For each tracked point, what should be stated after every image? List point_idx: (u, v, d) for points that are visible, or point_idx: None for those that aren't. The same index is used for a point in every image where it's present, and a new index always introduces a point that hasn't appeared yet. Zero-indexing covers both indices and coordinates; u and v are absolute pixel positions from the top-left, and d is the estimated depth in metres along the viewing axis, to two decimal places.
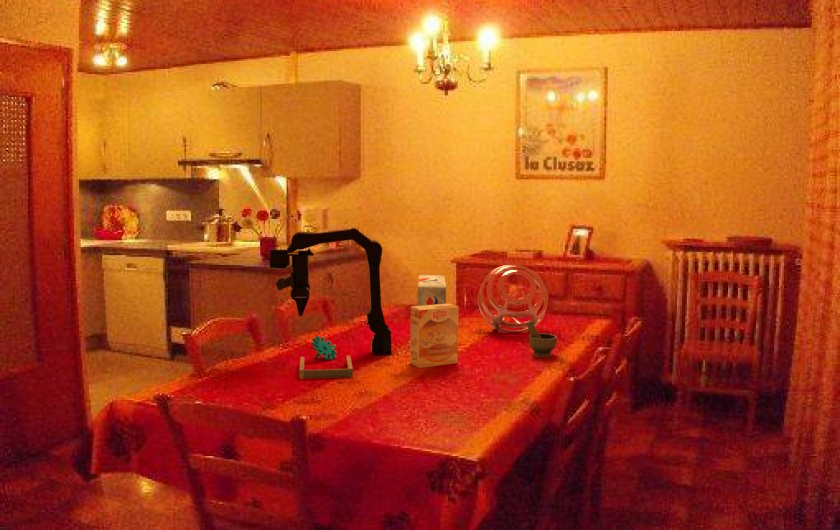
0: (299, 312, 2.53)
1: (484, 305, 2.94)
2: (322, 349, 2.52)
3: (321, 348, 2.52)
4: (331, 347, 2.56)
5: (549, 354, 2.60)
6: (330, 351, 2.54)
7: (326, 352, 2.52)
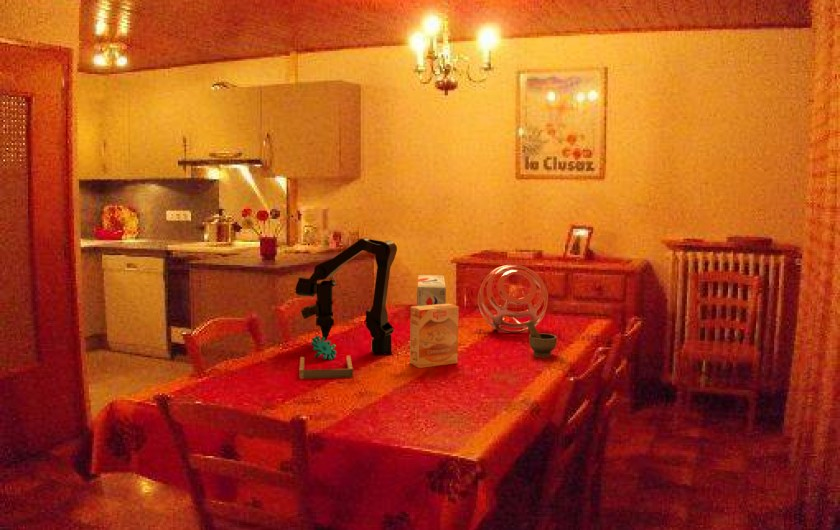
0: None
1: (484, 305, 2.94)
2: (321, 349, 2.52)
3: (320, 348, 2.52)
4: (331, 347, 2.56)
5: (549, 354, 2.60)
6: (330, 351, 2.54)
7: (325, 352, 2.53)
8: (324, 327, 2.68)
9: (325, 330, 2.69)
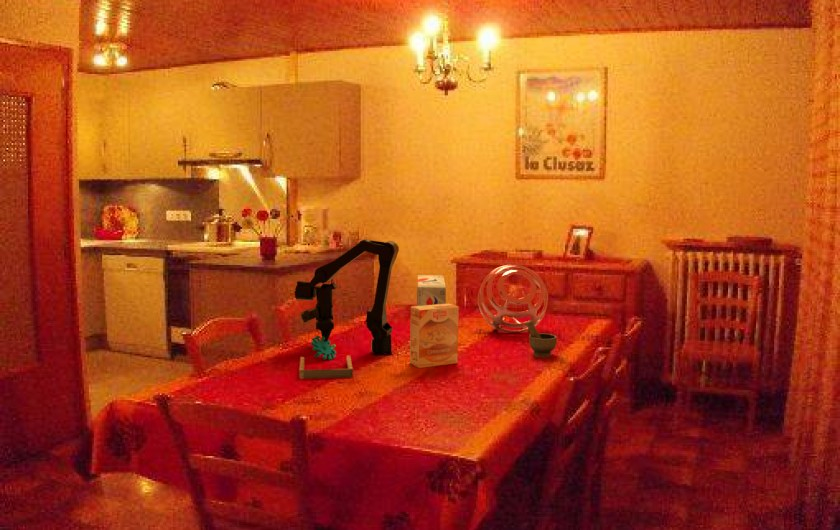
0: None
1: (484, 305, 2.94)
2: (321, 349, 2.52)
3: (320, 348, 2.52)
4: (331, 347, 2.57)
5: (549, 354, 2.60)
6: (329, 351, 2.55)
7: (325, 352, 2.53)
8: (324, 331, 2.66)
9: (325, 334, 2.66)
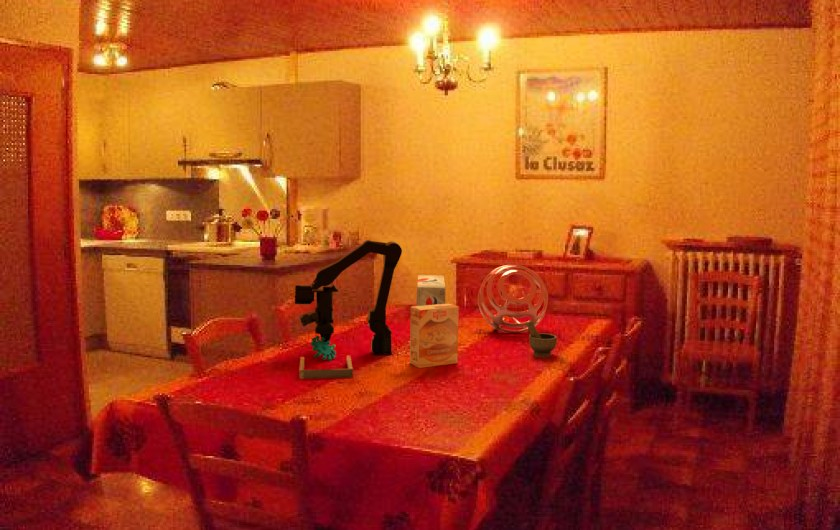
0: None
1: (484, 305, 2.94)
2: (321, 349, 2.52)
3: (320, 348, 2.52)
4: (330, 347, 2.56)
5: (549, 354, 2.60)
6: (329, 351, 2.54)
7: (325, 352, 2.52)
8: (324, 335, 2.59)
9: (325, 338, 2.59)
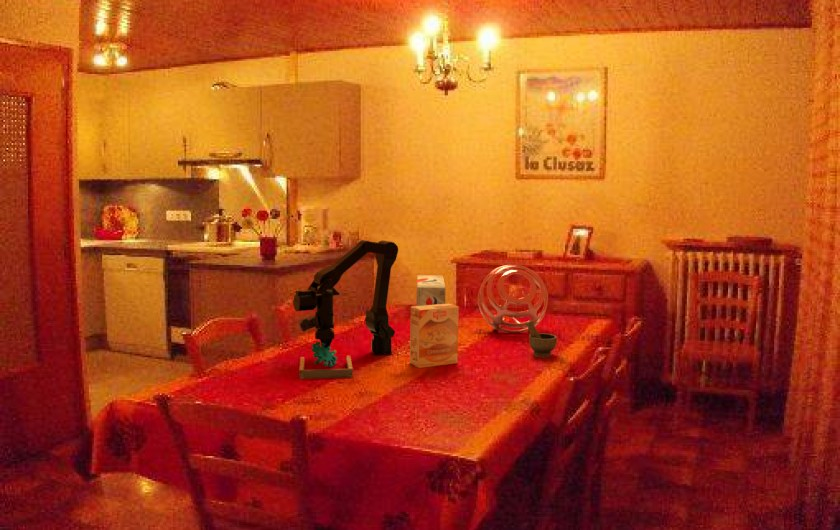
0: None
1: (484, 305, 2.94)
2: (322, 355, 2.43)
3: (321, 354, 2.43)
4: (331, 353, 2.48)
5: (549, 354, 2.60)
6: (330, 357, 2.46)
7: (326, 358, 2.44)
8: (324, 340, 2.50)
9: (325, 343, 2.50)
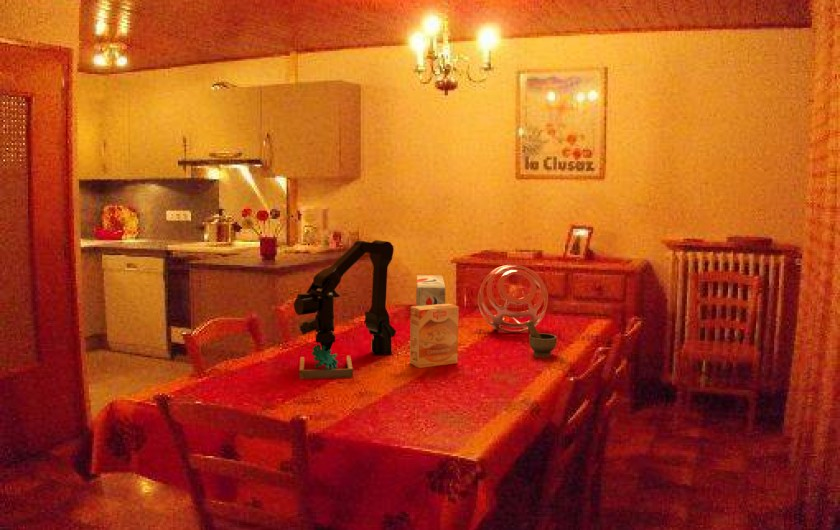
0: None
1: (484, 305, 2.94)
2: (323, 359, 2.39)
3: (322, 358, 2.39)
4: (332, 356, 2.43)
5: (549, 354, 2.60)
6: (331, 361, 2.41)
7: (327, 362, 2.39)
8: (324, 343, 2.46)
9: (326, 347, 2.46)
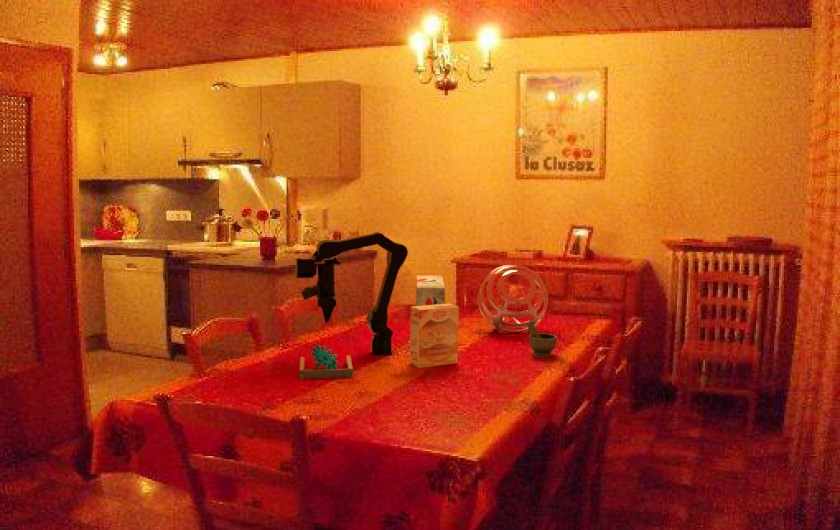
0: (325, 319, 2.56)
1: (484, 305, 2.94)
2: (322, 359, 2.39)
3: (321, 358, 2.39)
4: (332, 357, 2.44)
5: (549, 354, 2.60)
6: (331, 361, 2.41)
7: (326, 362, 2.40)
8: (326, 309, 2.54)
9: (327, 312, 2.55)
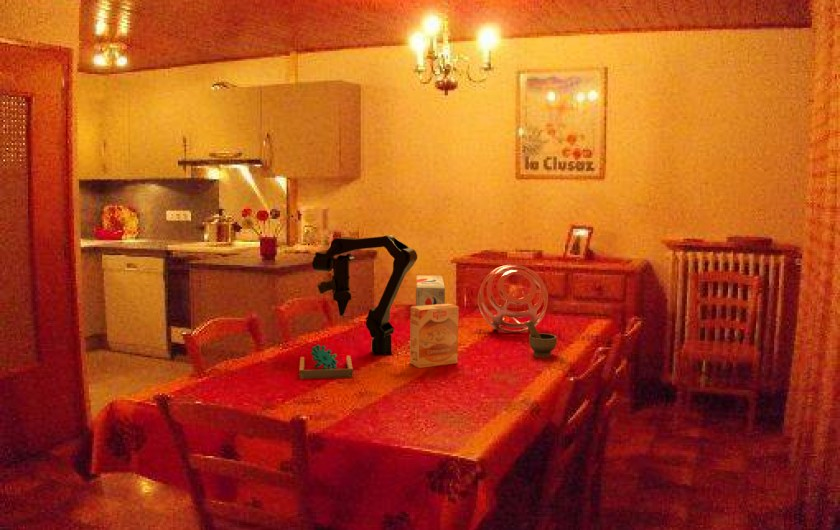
0: (340, 312, 2.67)
1: (484, 305, 2.94)
2: (322, 359, 2.39)
3: (321, 358, 2.39)
4: (331, 357, 2.44)
5: (549, 354, 2.60)
6: (330, 361, 2.42)
7: (326, 362, 2.40)
8: (341, 302, 2.66)
9: (342, 305, 2.66)
